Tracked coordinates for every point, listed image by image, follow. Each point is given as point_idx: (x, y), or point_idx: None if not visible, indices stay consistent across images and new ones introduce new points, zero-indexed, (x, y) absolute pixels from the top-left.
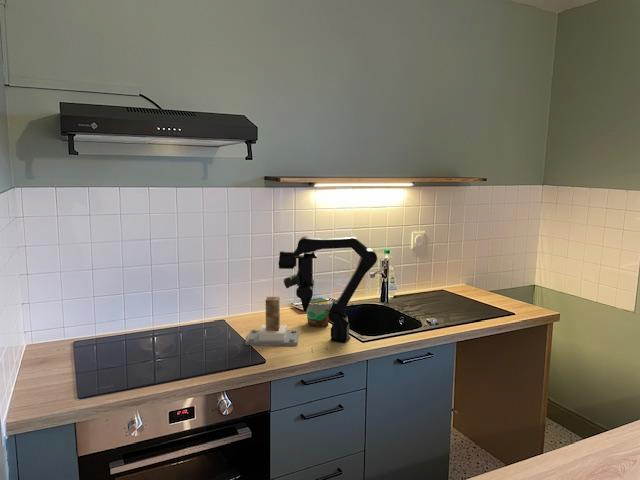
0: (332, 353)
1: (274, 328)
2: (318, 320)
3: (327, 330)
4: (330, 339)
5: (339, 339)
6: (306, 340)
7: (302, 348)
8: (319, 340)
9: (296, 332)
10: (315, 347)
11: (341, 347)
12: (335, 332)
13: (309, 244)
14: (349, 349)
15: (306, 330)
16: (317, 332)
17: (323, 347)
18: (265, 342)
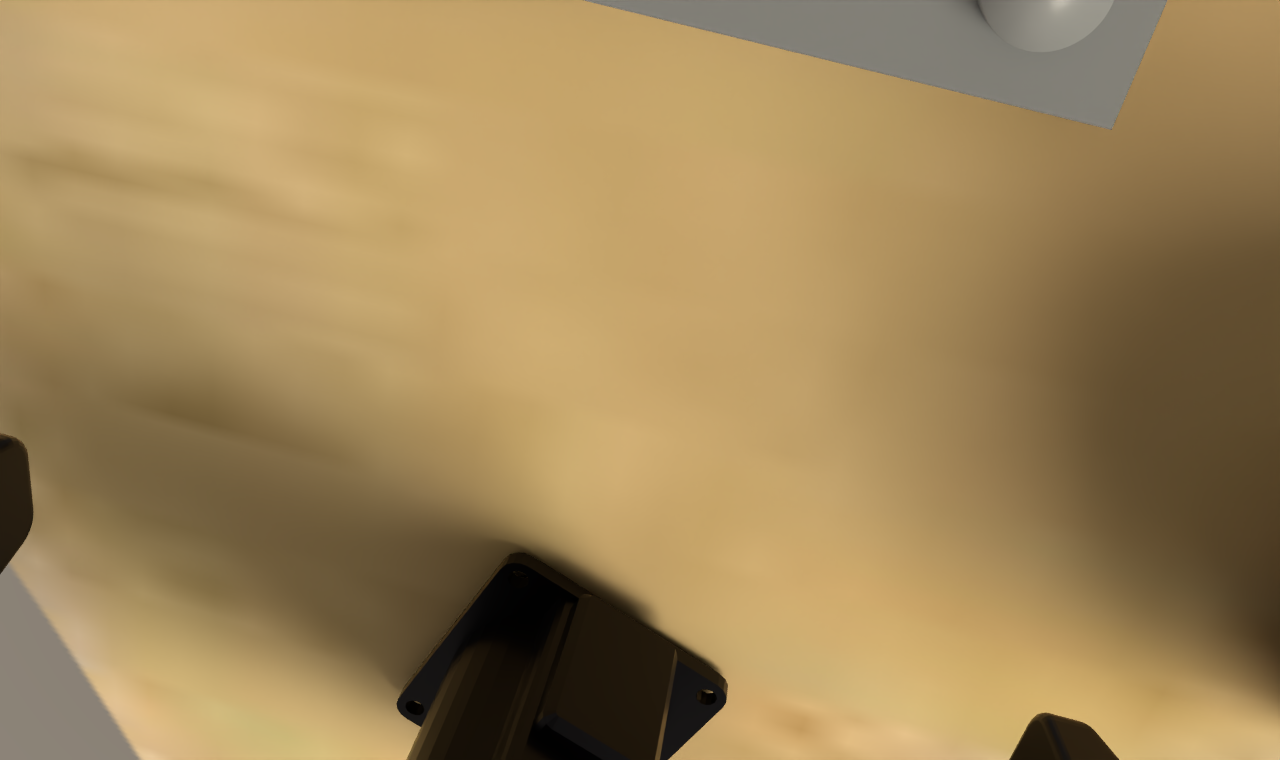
0: (13, 433)
1: None
2: None
3: (1050, 647)
4: (510, 563)
5: (447, 671)
6: (611, 179)
7: (195, 15)
8: (571, 400)
9: (984, 38)
10: (245, 257)
11: (244, 602)
12: (452, 711)
13: None
14: (173, 663)
15: (1221, 306)
16: (1006, 473)
17: (245, 378)
18: None
